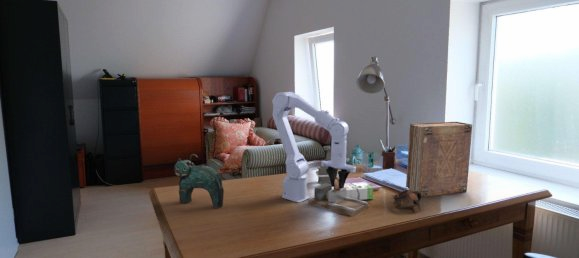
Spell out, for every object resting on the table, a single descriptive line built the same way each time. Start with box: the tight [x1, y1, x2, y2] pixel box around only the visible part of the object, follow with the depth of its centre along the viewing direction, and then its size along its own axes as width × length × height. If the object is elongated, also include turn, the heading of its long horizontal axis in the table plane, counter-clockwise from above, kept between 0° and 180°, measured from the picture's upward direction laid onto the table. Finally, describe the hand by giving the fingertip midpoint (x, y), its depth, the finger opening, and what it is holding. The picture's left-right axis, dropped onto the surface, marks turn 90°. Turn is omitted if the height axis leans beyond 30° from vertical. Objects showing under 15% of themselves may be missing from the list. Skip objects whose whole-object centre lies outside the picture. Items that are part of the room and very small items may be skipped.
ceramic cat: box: [173, 153, 225, 209], centre depth 148 cm, size 20×6×20 cm, turn 70°
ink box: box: [344, 181, 374, 201], centre depth 159 cm, size 9×5×12 cm
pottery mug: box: [392, 189, 423, 213], centre depth 148 cm, size 12×10×8 cm
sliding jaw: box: [328, 176, 346, 204], centre depth 148 cm, size 3×8×9 cm, turn 140°
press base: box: [307, 183, 369, 217], centre depth 149 cm, size 20×12×6 cm, turn 50°
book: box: [405, 121, 473, 198], centre depth 166 cm, size 25×9×30 cm, turn 109°
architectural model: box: [315, 162, 339, 185], centre depth 178 cm, size 19×17×11 cm
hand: (337, 187), depth 148 cm, fingers closed on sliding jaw, 3 cm apart
